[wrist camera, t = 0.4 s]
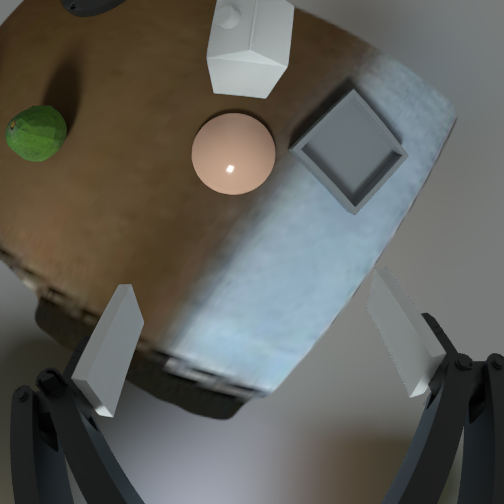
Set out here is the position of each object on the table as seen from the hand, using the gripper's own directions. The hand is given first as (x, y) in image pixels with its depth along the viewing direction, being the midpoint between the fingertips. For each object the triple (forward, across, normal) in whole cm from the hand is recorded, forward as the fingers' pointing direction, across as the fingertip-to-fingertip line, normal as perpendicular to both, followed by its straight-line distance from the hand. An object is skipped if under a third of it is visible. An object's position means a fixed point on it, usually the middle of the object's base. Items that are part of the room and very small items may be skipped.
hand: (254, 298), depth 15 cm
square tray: (+28, +15, +3) cm, 32 cm away
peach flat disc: (+27, -2, +3) cm, 27 cm away
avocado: (+27, -28, +11) cm, 41 cm away
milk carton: (+29, 0, +14) cm, 33 cm away
